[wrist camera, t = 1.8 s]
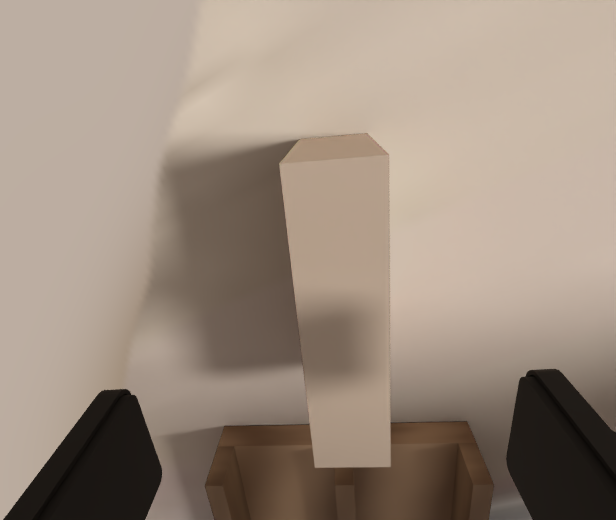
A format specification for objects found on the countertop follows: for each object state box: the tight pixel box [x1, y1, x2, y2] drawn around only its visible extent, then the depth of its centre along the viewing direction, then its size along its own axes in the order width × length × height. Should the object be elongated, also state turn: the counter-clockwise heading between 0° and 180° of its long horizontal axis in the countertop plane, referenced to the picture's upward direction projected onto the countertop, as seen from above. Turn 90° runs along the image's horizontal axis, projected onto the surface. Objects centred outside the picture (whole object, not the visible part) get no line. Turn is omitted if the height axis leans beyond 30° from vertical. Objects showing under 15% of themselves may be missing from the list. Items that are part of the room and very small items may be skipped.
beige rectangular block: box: [279, 133, 391, 468], centre depth 16 cm, size 3×12×7 cm, turn 5°
